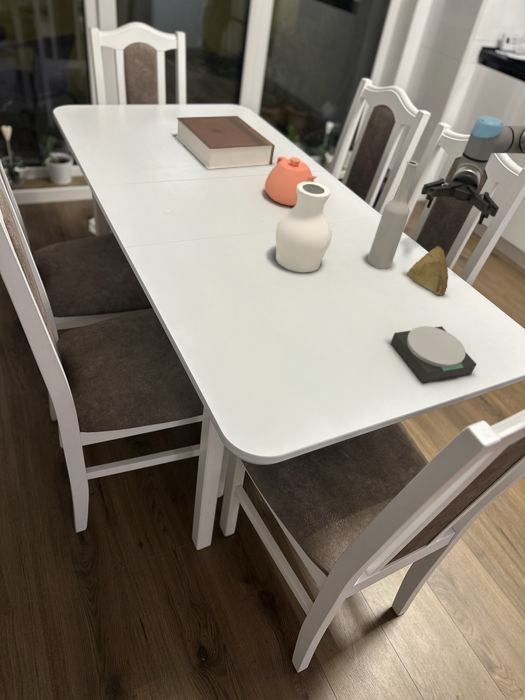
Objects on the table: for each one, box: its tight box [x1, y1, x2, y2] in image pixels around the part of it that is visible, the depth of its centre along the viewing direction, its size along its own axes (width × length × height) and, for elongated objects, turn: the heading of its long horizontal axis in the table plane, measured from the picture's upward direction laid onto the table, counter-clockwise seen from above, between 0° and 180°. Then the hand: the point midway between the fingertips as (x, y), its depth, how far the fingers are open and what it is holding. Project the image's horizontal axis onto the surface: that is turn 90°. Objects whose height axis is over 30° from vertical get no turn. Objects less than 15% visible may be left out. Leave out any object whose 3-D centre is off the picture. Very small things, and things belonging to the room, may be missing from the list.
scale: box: [390, 325, 478, 384], centre depth 118 cm, size 13×13×4 cm
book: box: [175, 115, 276, 170], centre depth 189 cm, size 24×28×6 cm
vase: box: [275, 181, 333, 274], centre depth 136 cm, size 14×14×20 cm
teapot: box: [264, 155, 318, 207], centre depth 165 cm, size 22×16×12 cm
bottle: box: [367, 160, 419, 270], centre depth 139 cm, size 7×7×28 cm
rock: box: [406, 245, 449, 296], centre depth 140 cm, size 11×9×10 cm
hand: (455, 211), depth 138 cm, fingers open, 13 cm apart
